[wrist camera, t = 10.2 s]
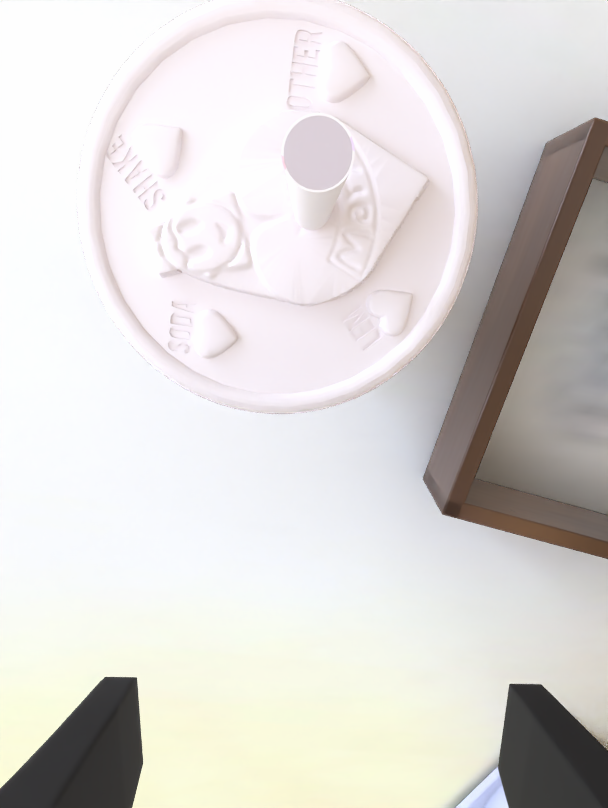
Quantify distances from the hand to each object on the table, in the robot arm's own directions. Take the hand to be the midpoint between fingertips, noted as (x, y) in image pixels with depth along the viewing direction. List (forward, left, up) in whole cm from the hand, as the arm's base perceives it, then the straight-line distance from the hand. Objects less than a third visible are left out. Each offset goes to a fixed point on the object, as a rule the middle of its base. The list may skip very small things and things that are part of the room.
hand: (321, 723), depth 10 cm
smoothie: (+6, -7, -10) cm, 14 cm away
